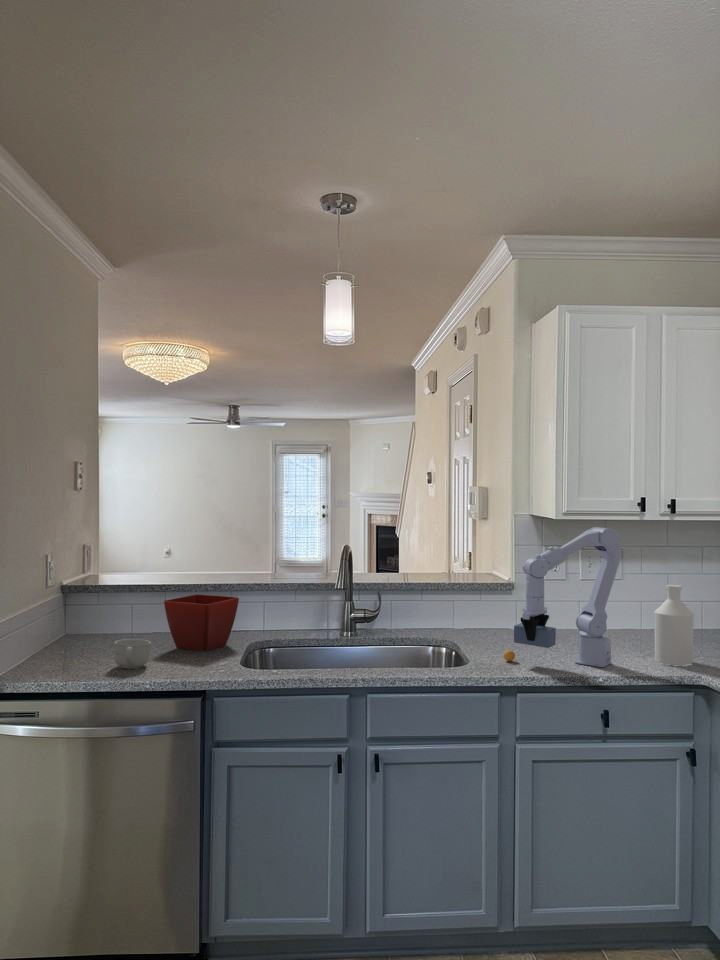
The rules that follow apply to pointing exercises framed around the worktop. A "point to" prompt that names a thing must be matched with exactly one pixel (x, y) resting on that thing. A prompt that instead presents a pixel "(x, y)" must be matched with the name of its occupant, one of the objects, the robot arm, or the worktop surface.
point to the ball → (509, 655)
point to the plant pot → (201, 620)
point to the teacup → (131, 653)
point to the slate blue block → (536, 636)
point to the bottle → (673, 630)
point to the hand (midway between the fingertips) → (534, 638)
